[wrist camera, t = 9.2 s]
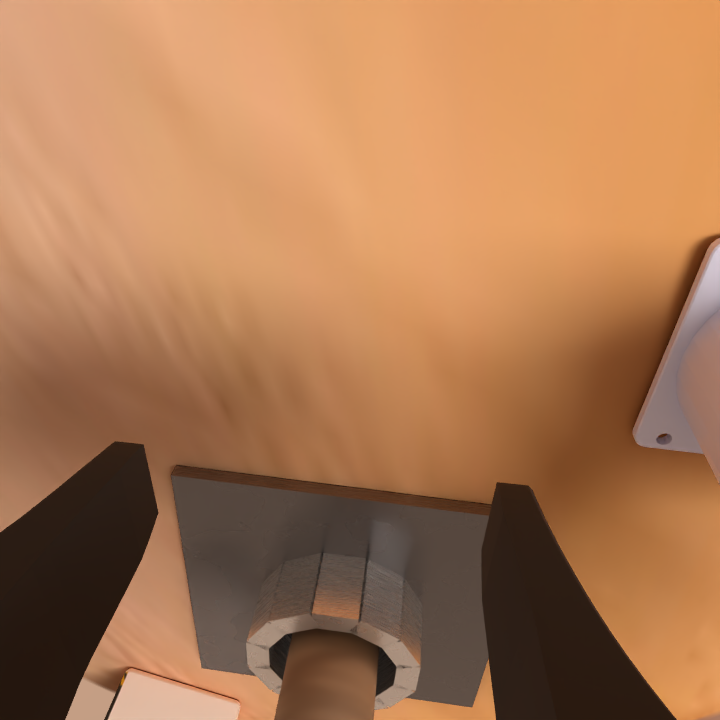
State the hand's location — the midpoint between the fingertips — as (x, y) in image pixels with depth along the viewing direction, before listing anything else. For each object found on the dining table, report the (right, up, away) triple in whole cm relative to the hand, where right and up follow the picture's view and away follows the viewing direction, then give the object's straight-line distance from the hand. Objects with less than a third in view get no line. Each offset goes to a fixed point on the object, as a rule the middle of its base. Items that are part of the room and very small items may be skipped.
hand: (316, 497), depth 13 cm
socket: (0, -9, +17) cm, 19 cm away
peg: (0, -9, +17) cm, 19 cm away
